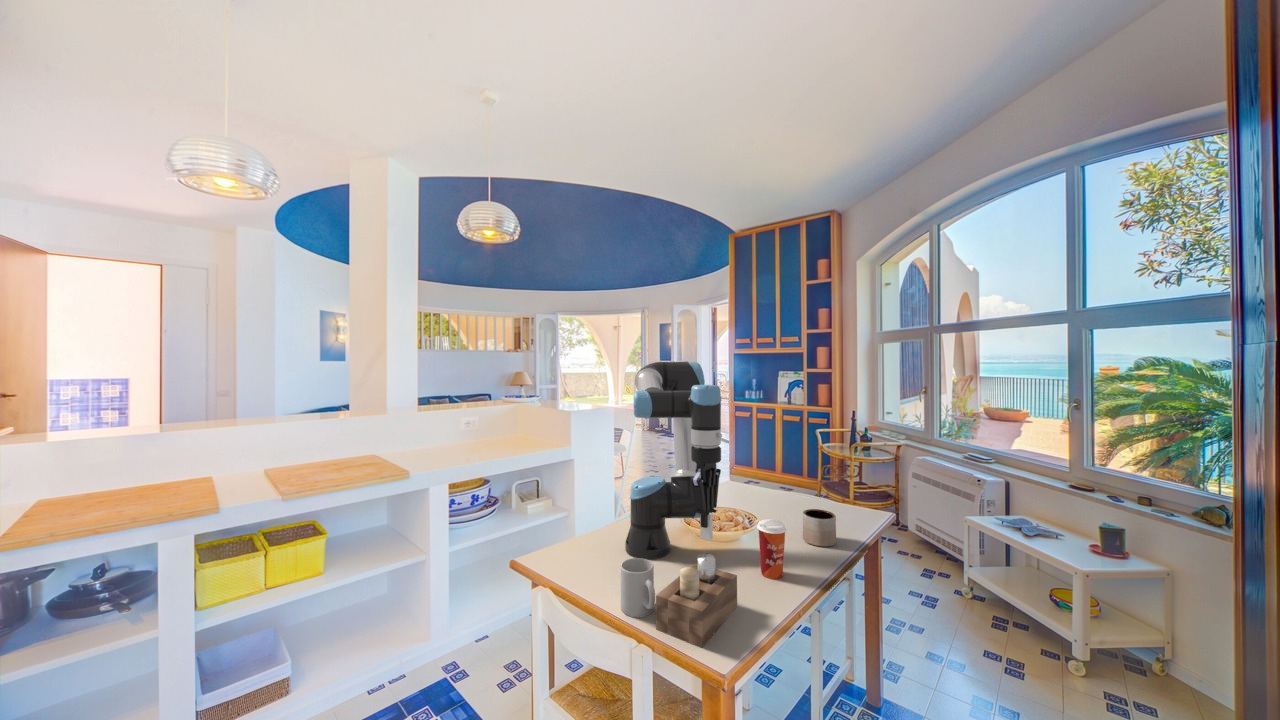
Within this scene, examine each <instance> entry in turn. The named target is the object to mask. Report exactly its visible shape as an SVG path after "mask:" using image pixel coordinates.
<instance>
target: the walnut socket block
mask: <svg viewBox="0 0 1280 720" xmlns="http://www.w3.org/2000/svg"><path fill="white" fill-rule="evenodd" d="M690 567H692V568H696V569H697V563H696V562H695V563H693V564H692V565H691V566H690ZM737 607H738V575H737V574H735V573H730V572H727V571H724V570H721V569H717V568H715V582H714V583H713V584H712V585H710V584H707V583H704V582H700V581H699V598H698V599H697V600H696V601H692V600H689V599H686V598H683V597H680V575H678V577H676V578H675V579H674V580H673V581H672V582H670V583H669V584H668V585H667V586H666V587H664V588H663V589H662V590H660V591H659V592H658V593H657V594H655V630H656V631H659V632H661V633H664V634H666V635H669V636H671V637H674V638H675V639H676V638H677V639H679V640H682V641H684V642H686V643H689V644H691V645H694V646H696V647H698V648H701V649H703V648H704V647H705V646H706V644H707V643H708V642H709V641H710V640H711V638H712V637H713V636H715V633H716V632H717V631H718V630H719V629H720V627H721V626H722V625H723V623H725V621H726V620H727V619H728V618H729V617H730V615H731V614H732V613H733V612H734V611H735V609H736V608H737Z"/></svg>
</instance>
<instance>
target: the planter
mask: <svg viewBox="0 0 1280 720" xmlns="http://www.w3.org/2000/svg"><path fill="white" fill-rule="evenodd" d="M802 539H803V541H805V543H807V544H809V545H811V546H814V547H815V546H816V547H817V548H819V547H820V548H829V547H833V546H835V545H836V544H837V516H836V514H835V513H833V512H832V511H828V510H826V509H825V510H824V509H819V508H808V509H805V510H803V512H802Z"/></svg>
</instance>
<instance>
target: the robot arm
mask: <svg viewBox="0 0 1280 720" xmlns="http://www.w3.org/2000/svg"><path fill="white" fill-rule="evenodd" d="M634 385H635V388H636V391H635V392H633V416H634V417H635V418H638V419H645V420H647V419H672V418H673V449H674V450H673V451H674V452H673V453H674V472H673V473H672V474H671V475H670V481H666V479H665V478H664V477H662V476H645V477H642V478H639V479H637V480H635V481H634V482H632V484H631V486H630V494H629V499H630V527H629V528H628V532H627V536H626V539H625V542H624V543H625V544H624V546H625V547H624V548H625V549H624V550H625V552H626V553H627V554H628V555H629V556H632V557H633V558H642V559H647V560H650V559H659V558H662V557H665V556H667V555H668V554H669V553H670V552H671V541H670V537H669V534H668V531H667V528H666V519H693V520H694V519H699V518H700V519H699V522H700V523H699V524H700V527H699V528H700V531H699V532H700V533H699V535H700V536H699V538H700V540H704V541H708V542H711V541H712V540H713V538H714V537H713V536H714V535H713V534H714V533H713V530H714V528H713V527H714V526H713V520H714V519H713V516H714V515H713V514H715V513H717V512H718V511H717V510H718V509H716V508H717V505H718V496H719V495H718V494H719V485H720V484H719V483H720V477H721V473H722V471H721V469H720V468H717V463H720V462H721V461H722V448H721V446H720V445H721V444H722V438H723V434H722V431H721V430H722V423H721V422H722V421H721V420H722V416H721V415H722V414H721V413H722V396H721V388H720V386H719V385H717V384H715V385H714V384H706V383H705V373H704V371H703V367H702V366H701V364H700V363H699V362H696V361H688V360H687V361H655V362H654V361H653V362H652V363H649V364H647V365H644V366H642V368H640V369H639V370H638V372H636V374H635V378H634Z"/></svg>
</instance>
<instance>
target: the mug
mask: <svg viewBox="0 0 1280 720" xmlns="http://www.w3.org/2000/svg"><path fill="white" fill-rule="evenodd" d="M654 574H655V573H654V563H653V562H652V561H651V560H650V559H645V558H638V557H632V558H629V559H626V560H624V561H622V562H621V564H620V610H621V612H622V613H623V614H624V615H625V616H628V617H631V618H643V617H644V618H645V617H646V616H648V615H650V614H652V613H653V611H654V608H655V605H656V593H655V592H656V591H655V586H654V579H655V577H654Z"/></svg>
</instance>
